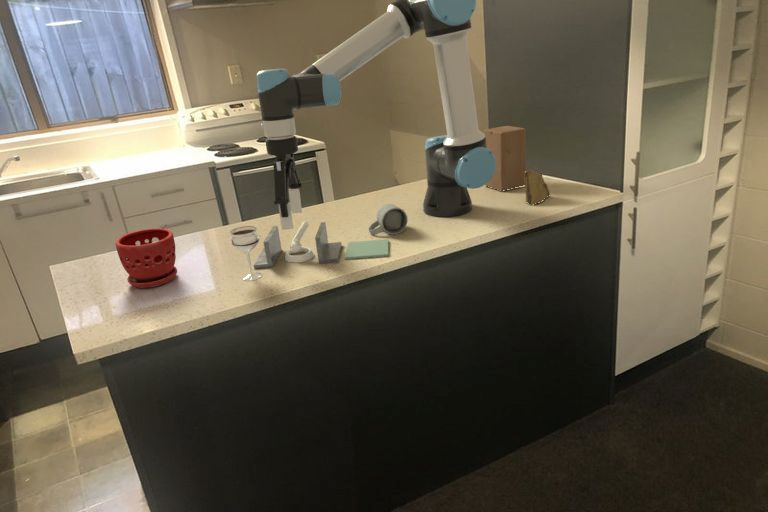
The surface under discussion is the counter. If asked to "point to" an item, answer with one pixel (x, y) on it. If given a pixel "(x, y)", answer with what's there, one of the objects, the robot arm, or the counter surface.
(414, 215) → the counter surface
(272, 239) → the dark grey bookends
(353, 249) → the mat
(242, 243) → the wineglass
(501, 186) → the wooden block
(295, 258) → the white curved piece
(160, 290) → the counter surface
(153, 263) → the plant pot
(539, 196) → the rock
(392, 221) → the ceramic mug
